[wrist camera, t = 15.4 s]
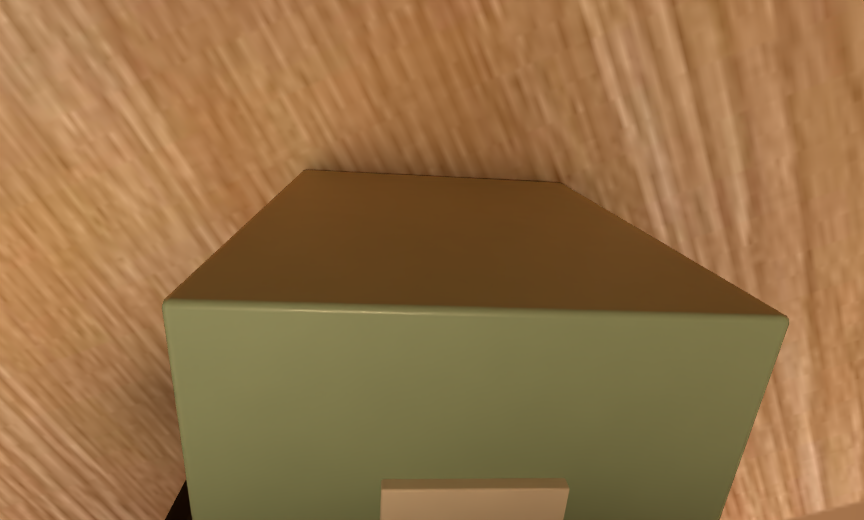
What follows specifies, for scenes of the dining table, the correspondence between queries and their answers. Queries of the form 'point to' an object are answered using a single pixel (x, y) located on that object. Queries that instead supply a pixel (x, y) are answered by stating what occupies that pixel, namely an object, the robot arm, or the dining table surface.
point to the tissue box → (460, 360)
